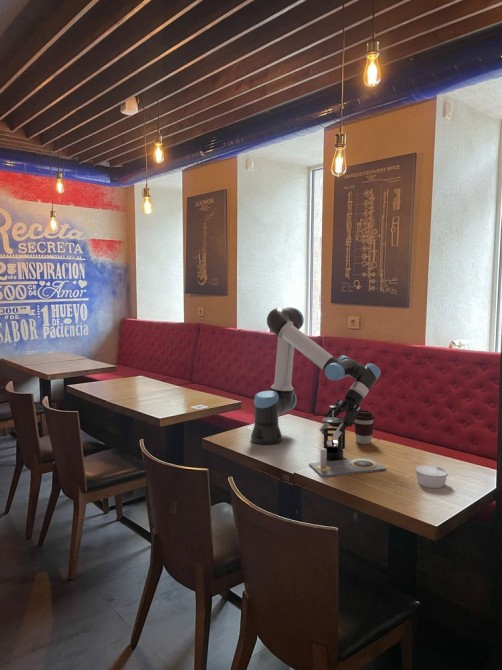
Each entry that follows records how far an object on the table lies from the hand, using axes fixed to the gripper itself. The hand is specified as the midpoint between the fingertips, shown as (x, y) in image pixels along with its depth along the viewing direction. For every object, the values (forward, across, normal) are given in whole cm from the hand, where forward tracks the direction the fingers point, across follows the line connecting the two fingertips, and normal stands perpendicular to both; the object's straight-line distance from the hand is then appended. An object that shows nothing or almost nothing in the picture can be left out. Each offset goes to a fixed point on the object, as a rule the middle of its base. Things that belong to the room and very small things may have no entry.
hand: (327, 434), depth 213 cm
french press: (+5, 0, -10) cm, 11 cm away
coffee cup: (-13, +9, -29) cm, 33 cm away
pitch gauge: (+8, -13, -8) cm, 17 cm away
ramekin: (-3, -42, -19) cm, 46 cm away
